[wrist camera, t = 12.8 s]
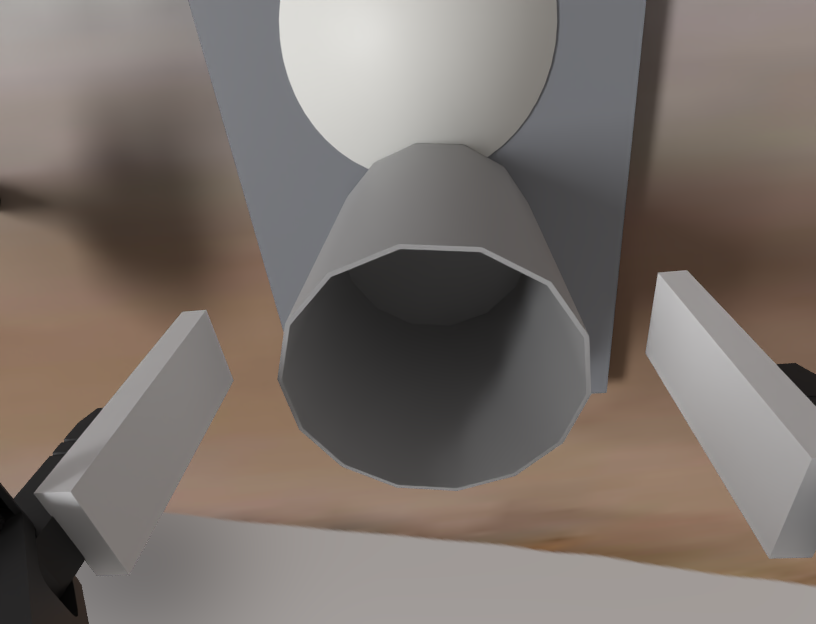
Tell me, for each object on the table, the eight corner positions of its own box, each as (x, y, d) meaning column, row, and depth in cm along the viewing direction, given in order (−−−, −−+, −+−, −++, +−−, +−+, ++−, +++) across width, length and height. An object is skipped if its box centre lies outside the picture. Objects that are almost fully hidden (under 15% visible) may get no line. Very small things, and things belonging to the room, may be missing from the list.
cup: (344, 315, 24) (292, 481, 16) (334, 140, 20) (256, 238, 11) (519, 323, 24) (563, 496, 15) (546, 146, 20) (629, 252, 11)
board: (176, -91, 18) (98, -123, 14) (650, -171, 16) (721, -236, 12) (310, 394, 29) (289, 457, 25) (600, 378, 27) (628, 442, 23)
